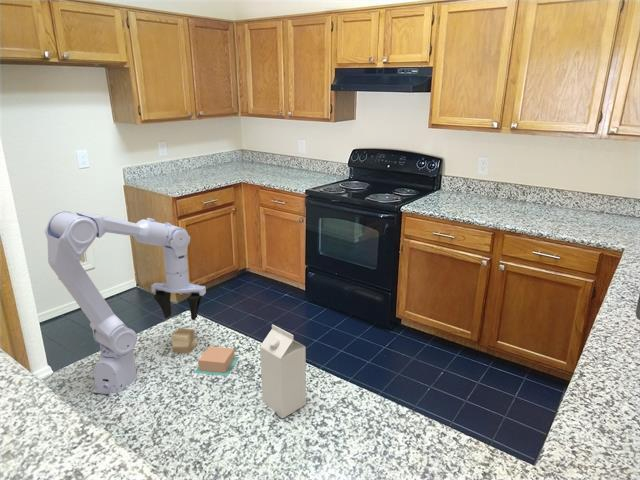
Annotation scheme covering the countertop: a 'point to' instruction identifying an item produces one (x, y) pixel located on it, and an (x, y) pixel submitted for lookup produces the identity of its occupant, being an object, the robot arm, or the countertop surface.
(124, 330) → the robot arm
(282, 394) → the milk carton
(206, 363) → the base block
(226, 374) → the board
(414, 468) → the countertop surface
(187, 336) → the maple block
